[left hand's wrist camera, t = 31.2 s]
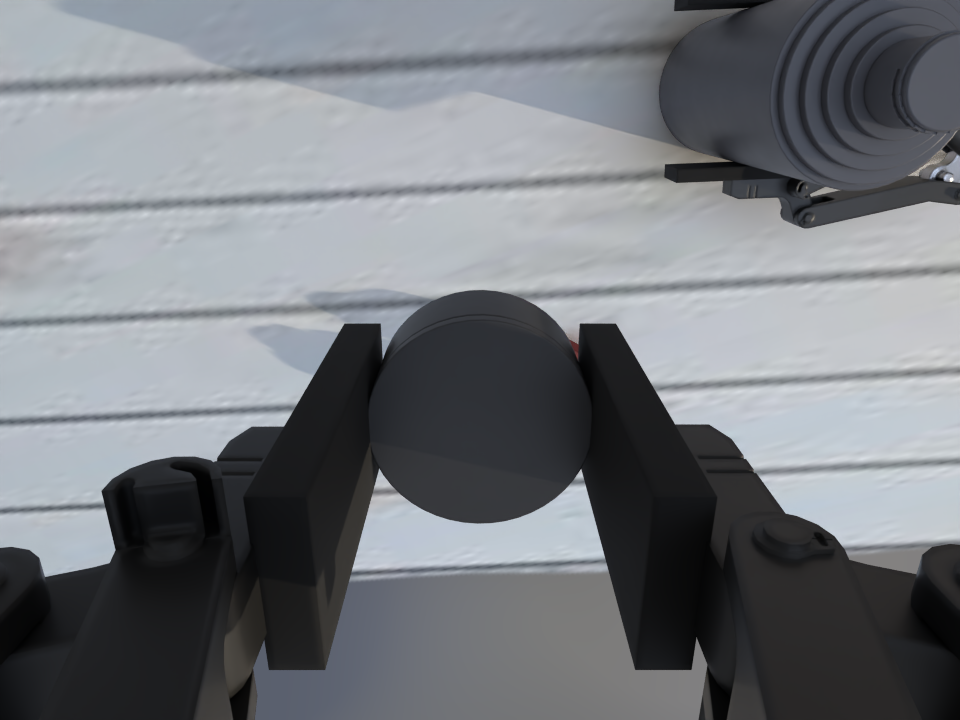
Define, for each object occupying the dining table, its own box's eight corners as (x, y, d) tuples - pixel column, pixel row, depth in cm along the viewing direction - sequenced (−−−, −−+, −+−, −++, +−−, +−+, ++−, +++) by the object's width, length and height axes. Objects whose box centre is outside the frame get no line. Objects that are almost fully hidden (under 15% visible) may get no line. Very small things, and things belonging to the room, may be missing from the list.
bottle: (659, 160, 45) (818, 221, 24) (658, 24, 42) (838, -45, 21) (784, 147, 45) (1056, 196, 24) (792, 9, 42) (1112, -77, 21)
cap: (609, 321, 14) (628, 357, 12) (542, 491, 16) (551, 545, 14) (408, 263, 14) (397, 291, 12) (361, 444, 15) (344, 494, 13)
